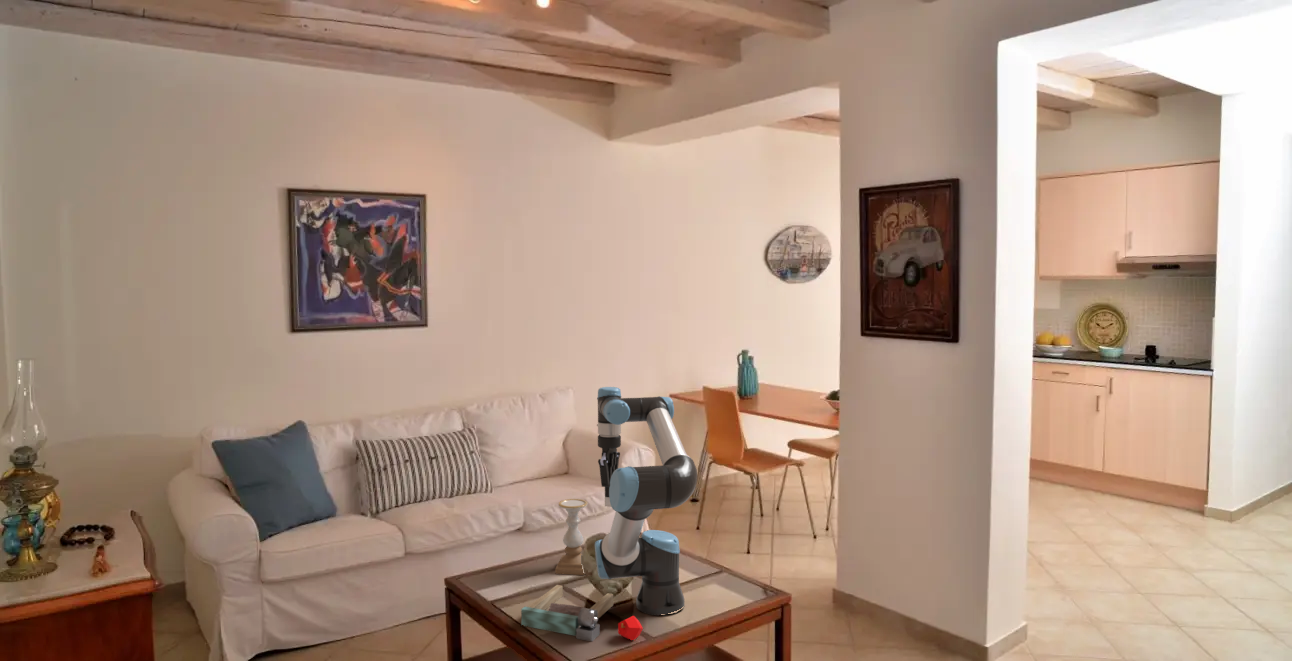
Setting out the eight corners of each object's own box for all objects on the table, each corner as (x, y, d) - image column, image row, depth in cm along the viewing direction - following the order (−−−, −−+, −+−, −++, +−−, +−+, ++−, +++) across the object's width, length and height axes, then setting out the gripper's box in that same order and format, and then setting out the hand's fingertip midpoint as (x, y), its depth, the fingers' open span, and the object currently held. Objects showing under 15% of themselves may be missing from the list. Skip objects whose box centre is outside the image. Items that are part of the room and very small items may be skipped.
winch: (601, 634, 240) (601, 607, 240) (593, 641, 236) (593, 614, 235) (582, 631, 243) (582, 604, 242) (574, 638, 238) (574, 611, 237)
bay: (613, 605, 261) (613, 589, 261) (578, 636, 239) (578, 619, 239) (557, 595, 269) (557, 580, 269) (518, 624, 247) (518, 608, 246)
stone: (584, 628, 245) (584, 612, 245) (544, 627, 246) (544, 612, 245) (587, 615, 254) (587, 600, 254) (549, 615, 255) (548, 600, 254)
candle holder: (561, 562, 298) (560, 497, 297) (591, 564, 297) (591, 498, 295) (554, 574, 288) (554, 506, 286) (585, 575, 286) (585, 507, 285)
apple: (635, 611, 244) (617, 609, 238) (650, 622, 239) (632, 621, 233) (626, 633, 243) (607, 632, 238) (641, 645, 239) (623, 644, 233)
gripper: (606, 430, 277) (606, 499, 279) (590, 437, 265) (590, 510, 266) (627, 431, 274) (627, 501, 276) (612, 439, 262) (612, 512, 264)
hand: (609, 505), depth 271 cm, fingers closed
